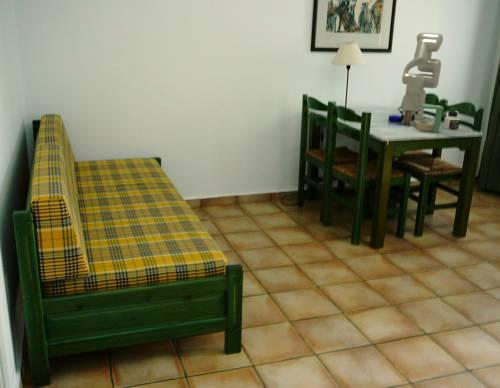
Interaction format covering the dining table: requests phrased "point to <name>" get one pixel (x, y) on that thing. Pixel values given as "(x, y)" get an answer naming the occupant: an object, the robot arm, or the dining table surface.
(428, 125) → the tan shallow oval bowl
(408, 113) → the peg
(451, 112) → the medicine bottle
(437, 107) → the pale green arch
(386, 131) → the dining table surface
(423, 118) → the robot arm
